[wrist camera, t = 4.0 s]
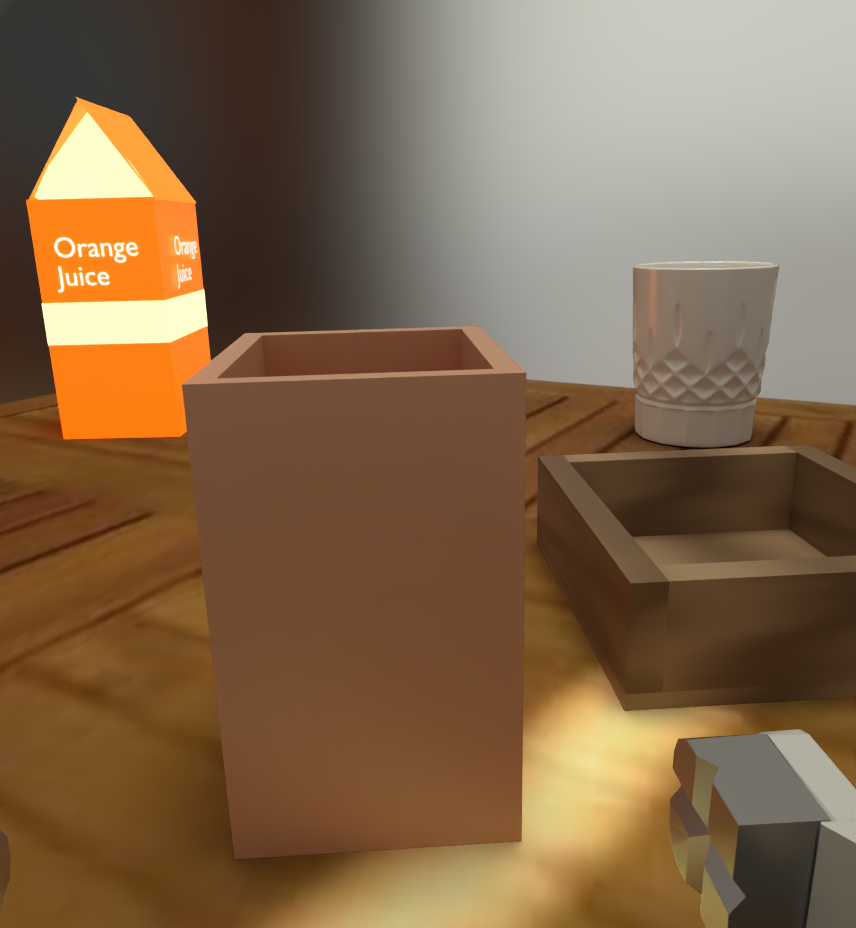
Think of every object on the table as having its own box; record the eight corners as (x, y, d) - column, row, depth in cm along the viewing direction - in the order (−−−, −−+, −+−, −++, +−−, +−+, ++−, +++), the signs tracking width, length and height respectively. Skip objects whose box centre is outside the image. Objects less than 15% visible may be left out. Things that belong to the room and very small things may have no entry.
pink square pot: (234, 860, 17) (181, 384, 14) (275, 679, 24) (245, 333, 21) (521, 841, 17) (526, 372, 14) (481, 668, 24) (478, 326, 21)
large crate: (624, 720, 22) (630, 583, 21) (537, 550, 33) (538, 456, 32) (1017, 696, 22) (1045, 561, 21) (798, 537, 34) (808, 444, 33)
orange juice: (60, 439, 52) (7, 98, 46) (113, 409, 60) (73, 118, 55) (183, 436, 52) (144, 94, 46) (218, 407, 60) (189, 115, 54)
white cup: (672, 414, 54) (681, 260, 52) (787, 433, 49) (805, 262, 46) (599, 435, 50) (605, 266, 47) (717, 460, 44) (732, 269, 41)
